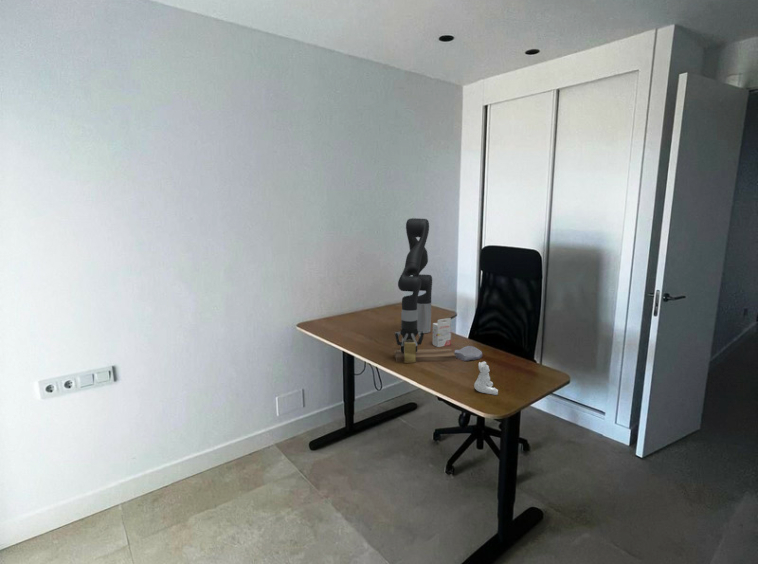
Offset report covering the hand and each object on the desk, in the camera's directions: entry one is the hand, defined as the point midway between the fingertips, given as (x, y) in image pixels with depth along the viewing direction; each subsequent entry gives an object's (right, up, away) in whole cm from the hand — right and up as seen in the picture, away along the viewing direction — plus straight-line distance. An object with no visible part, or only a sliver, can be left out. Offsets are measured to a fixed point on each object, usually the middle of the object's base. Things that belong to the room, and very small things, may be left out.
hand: (408, 352), depth 200 cm
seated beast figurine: (+28, -10, -31) cm, 43 cm away
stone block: (+29, -3, +4) cm, 30 cm away
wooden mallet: (0, -3, +4) cm, 4 cm away
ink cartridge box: (+19, 0, +22) cm, 29 cm away
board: (+8, -3, +4) cm, 9 cm away
